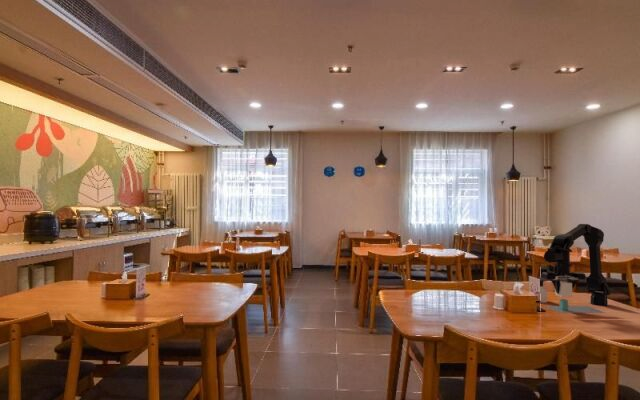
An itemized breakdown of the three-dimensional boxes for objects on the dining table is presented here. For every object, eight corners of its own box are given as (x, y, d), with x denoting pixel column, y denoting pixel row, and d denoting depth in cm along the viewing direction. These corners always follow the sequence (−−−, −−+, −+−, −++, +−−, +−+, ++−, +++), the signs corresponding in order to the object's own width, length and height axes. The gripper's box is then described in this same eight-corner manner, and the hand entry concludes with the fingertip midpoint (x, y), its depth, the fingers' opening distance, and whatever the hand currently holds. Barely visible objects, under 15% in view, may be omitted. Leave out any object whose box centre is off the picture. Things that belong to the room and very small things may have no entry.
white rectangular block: (565, 294, 199) (565, 281, 200) (572, 296, 194) (572, 283, 194) (555, 294, 199) (555, 281, 200) (561, 296, 194) (561, 283, 194)
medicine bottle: (541, 300, 221) (540, 278, 221) (547, 303, 214) (546, 280, 214) (527, 300, 221) (527, 278, 222) (532, 303, 214) (532, 280, 215)
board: (586, 307, 205) (586, 306, 205) (606, 314, 191) (606, 312, 191) (543, 306, 206) (543, 305, 206) (559, 313, 192) (559, 312, 192)
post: (564, 309, 198) (564, 299, 198) (568, 310, 195) (567, 300, 195) (559, 309, 198) (559, 299, 198) (562, 310, 195) (562, 300, 195)
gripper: (572, 259, 205) (572, 290, 205) (535, 259, 206) (535, 290, 205) (586, 262, 194) (586, 294, 194) (547, 262, 194) (547, 294, 194)
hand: (563, 293), depth 197 cm, fingers closed on white rectangular block, 5 cm apart
